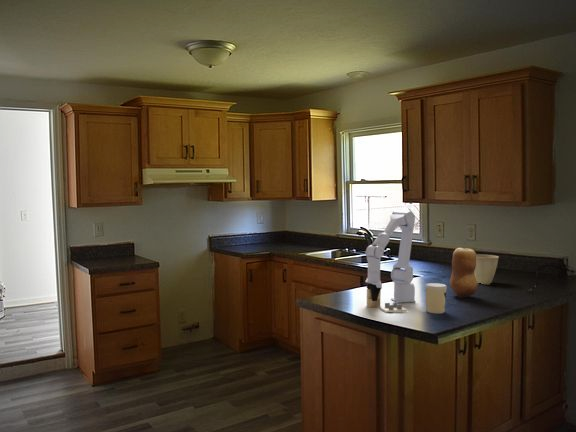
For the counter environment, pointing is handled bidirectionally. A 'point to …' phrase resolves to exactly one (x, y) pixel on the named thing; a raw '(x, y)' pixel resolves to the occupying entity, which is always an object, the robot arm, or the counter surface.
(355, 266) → the counter surface
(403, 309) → the cream pegged base plate
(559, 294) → the counter surface
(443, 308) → the coffee cup
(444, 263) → the counter surface
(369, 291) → the wooden block
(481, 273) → the plant pot
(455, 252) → the butternut squash
